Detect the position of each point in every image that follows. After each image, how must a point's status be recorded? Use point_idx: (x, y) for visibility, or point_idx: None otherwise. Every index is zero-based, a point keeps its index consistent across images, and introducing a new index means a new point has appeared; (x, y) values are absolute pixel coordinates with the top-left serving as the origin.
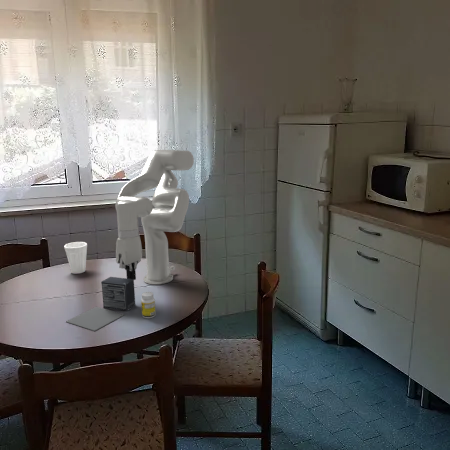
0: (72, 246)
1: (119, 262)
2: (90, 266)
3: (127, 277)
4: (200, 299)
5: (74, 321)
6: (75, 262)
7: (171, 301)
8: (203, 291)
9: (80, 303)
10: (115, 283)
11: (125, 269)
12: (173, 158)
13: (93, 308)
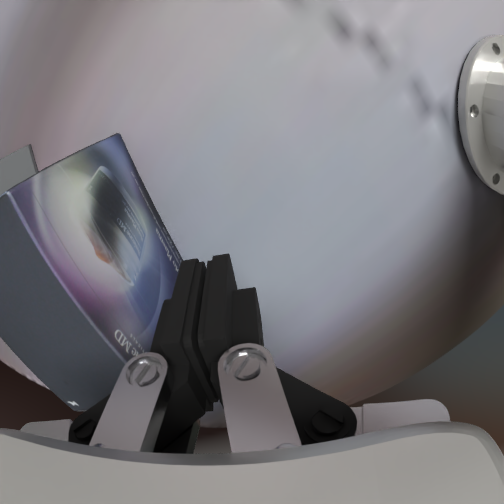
0: None
1: (10, 441)
2: None
3: (166, 305)
4: (384, 386)
5: None
6: None
7: (326, 350)
8: (446, 351)
9: (9, 41)
10: (21, 360)
11: (129, 373)
12: None
13: (13, 157)
